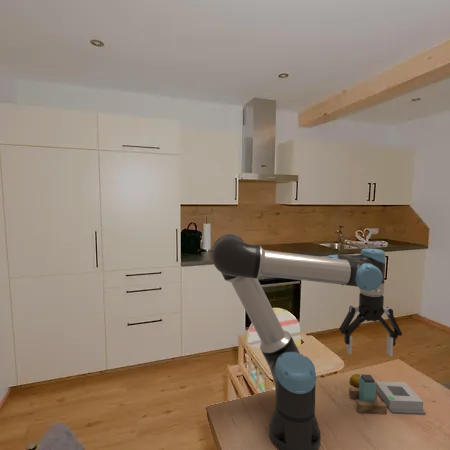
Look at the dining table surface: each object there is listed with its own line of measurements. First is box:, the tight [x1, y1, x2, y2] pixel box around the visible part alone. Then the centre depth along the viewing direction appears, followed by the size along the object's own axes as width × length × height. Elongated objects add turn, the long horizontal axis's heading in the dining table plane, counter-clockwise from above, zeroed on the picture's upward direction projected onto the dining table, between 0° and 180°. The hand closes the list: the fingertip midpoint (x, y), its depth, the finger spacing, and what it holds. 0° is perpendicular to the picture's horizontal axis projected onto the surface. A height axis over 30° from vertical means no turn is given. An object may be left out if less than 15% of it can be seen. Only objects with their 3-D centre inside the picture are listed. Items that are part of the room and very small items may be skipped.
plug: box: [358, 373, 377, 402], centre depth 102 cm, size 4×4×10 cm
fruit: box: [349, 373, 361, 388], centre depth 114 cm, size 8×8×4 cm
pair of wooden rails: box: [348, 387, 388, 415], centre depth 102 cm, size 9×9×3 cm
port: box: [374, 380, 427, 416], centre depth 105 cm, size 11×14×4 cm
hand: (369, 353), depth 101 cm, fingers open, 13 cm apart
